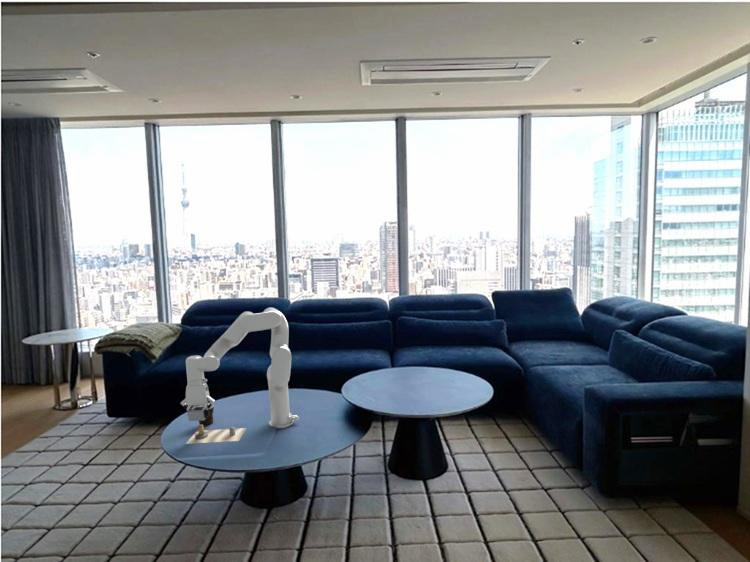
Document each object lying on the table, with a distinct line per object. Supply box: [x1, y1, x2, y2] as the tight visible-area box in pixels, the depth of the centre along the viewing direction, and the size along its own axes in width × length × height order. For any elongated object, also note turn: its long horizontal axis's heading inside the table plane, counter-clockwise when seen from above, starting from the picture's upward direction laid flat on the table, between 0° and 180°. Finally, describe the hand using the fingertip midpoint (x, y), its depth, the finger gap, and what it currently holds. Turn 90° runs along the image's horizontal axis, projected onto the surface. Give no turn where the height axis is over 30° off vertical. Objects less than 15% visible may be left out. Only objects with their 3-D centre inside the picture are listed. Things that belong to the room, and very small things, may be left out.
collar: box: [187, 406, 205, 422], centre depth 222 cm, size 7×7×4 cm
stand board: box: [185, 424, 247, 445], centre depth 223 cm, size 25×14×7 cm, turn 90°
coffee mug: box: [198, 404, 215, 427], centre depth 240 cm, size 12×9×10 cm
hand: (199, 417), depth 222 cm, fingers closed on collar, 7 cm apart
